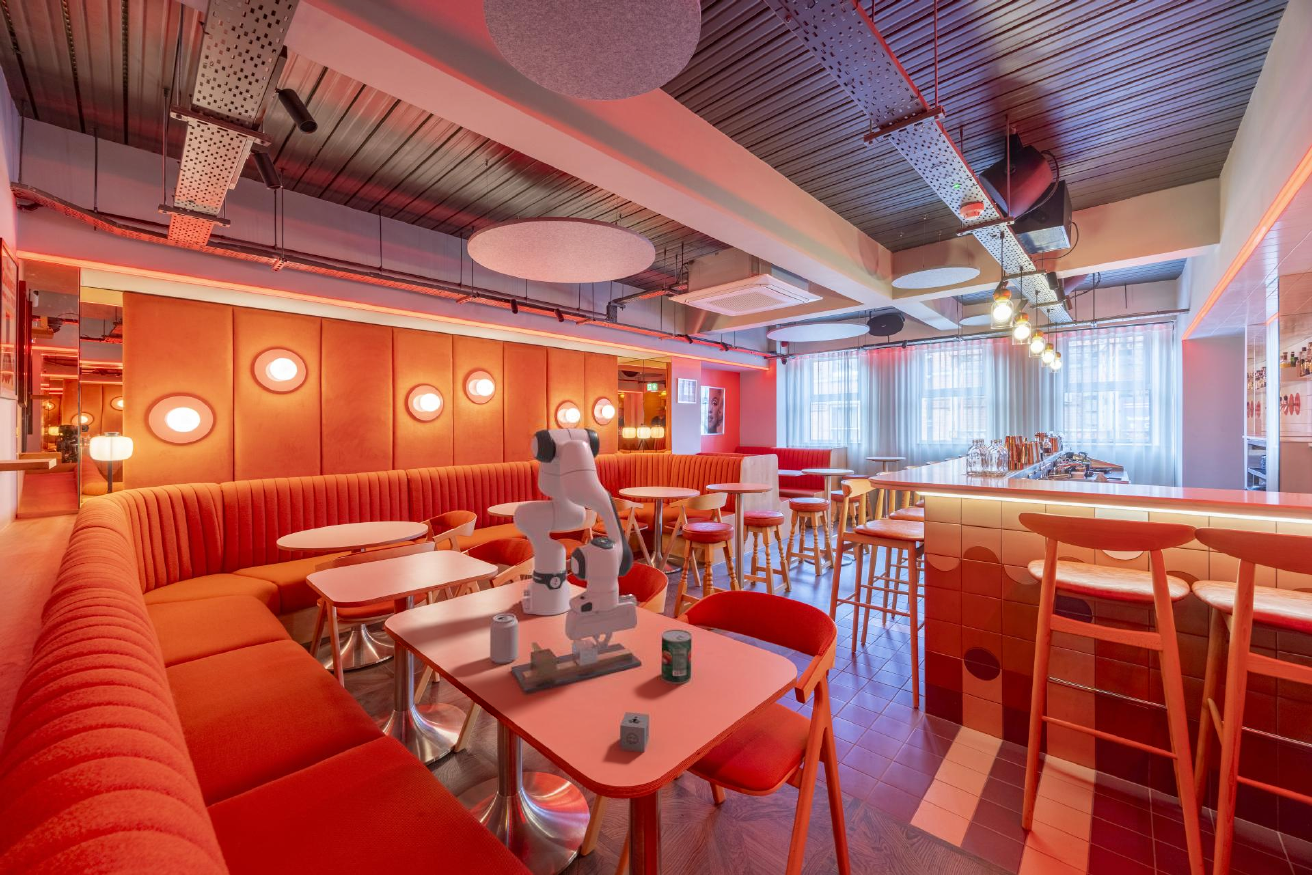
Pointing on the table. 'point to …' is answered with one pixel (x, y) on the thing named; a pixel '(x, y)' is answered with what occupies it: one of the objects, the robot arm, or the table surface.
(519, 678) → the bolt plate
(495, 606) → the table surface
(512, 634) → the can
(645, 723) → the dice cube
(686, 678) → the canned tomato
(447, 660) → the table surface
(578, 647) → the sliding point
